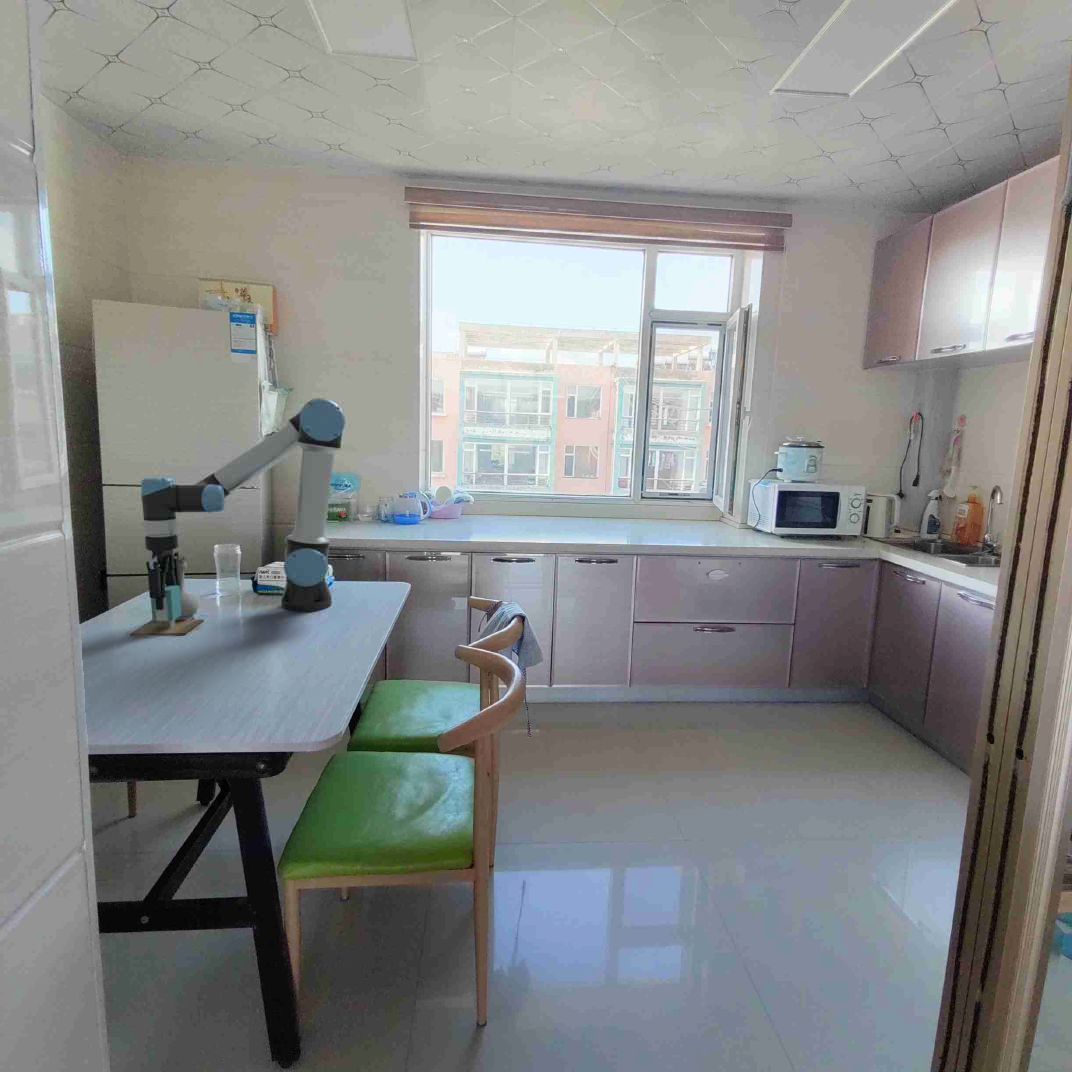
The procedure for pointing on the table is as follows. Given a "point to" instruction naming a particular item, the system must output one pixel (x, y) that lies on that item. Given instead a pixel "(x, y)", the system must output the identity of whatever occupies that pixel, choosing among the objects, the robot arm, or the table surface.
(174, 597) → the teal boxy block
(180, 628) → the board
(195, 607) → the potion bottle
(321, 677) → the table surface
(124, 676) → the table surface
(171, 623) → the post
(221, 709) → the table surface
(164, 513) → the robot arm
